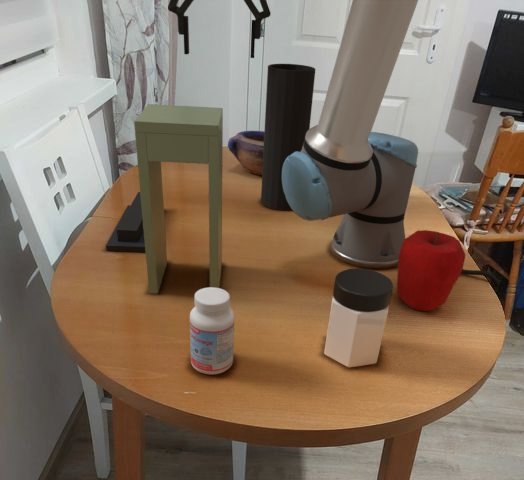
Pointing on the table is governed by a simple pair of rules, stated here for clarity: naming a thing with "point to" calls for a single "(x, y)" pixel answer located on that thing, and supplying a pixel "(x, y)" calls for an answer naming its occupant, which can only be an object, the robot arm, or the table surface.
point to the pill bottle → (211, 331)
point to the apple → (428, 269)
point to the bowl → (248, 150)
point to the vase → (284, 125)
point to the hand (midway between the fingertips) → (219, 55)
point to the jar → (358, 316)
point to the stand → (182, 151)
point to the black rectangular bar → (131, 222)
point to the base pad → (125, 246)
